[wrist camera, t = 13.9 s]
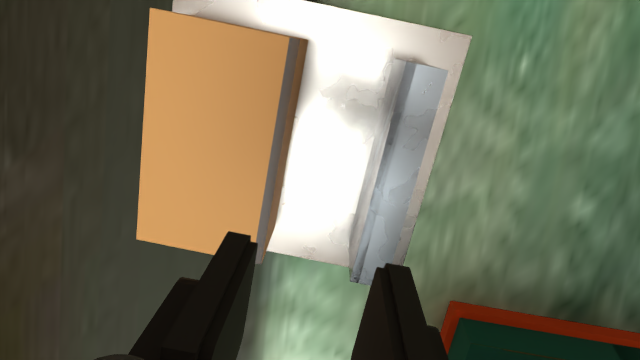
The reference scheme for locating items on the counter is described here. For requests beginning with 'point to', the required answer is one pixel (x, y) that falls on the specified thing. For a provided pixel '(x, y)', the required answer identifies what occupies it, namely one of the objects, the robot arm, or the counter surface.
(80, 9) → the counter surface
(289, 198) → the vise base
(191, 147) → the block
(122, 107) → the counter surface
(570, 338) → the power tool
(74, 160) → the counter surface
